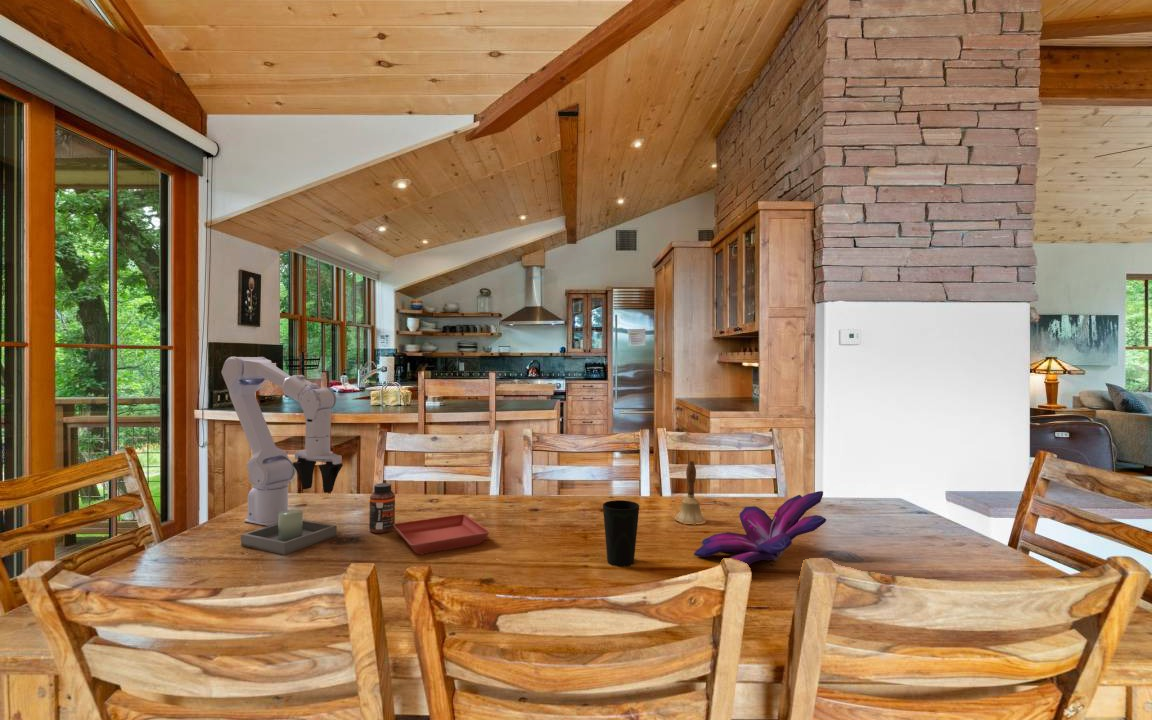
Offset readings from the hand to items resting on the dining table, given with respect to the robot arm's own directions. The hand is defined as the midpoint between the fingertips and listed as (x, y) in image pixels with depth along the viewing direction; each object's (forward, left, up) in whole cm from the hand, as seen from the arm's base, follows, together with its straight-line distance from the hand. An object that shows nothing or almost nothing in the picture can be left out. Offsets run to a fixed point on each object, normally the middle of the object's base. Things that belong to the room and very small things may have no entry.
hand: (317, 490), depth 138 cm
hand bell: (+84, +46, -9) cm, 96 cm away
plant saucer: (+34, +5, -10) cm, 36 cm away
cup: (+77, +10, -9) cm, 78 cm away
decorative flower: (+104, +23, -10) cm, 107 cm away
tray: (+3, -10, -9) cm, 14 cm away
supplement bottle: (+17, +5, -9) cm, 20 cm away
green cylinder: (+3, -10, -9) cm, 14 cm away
